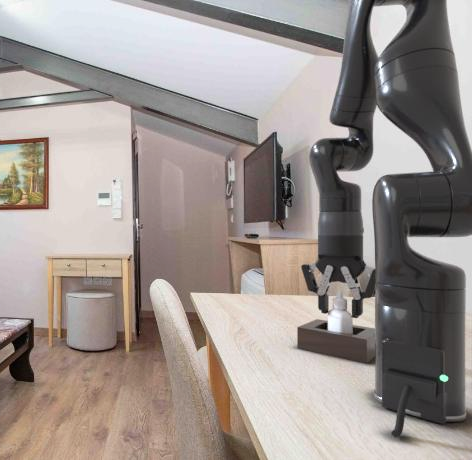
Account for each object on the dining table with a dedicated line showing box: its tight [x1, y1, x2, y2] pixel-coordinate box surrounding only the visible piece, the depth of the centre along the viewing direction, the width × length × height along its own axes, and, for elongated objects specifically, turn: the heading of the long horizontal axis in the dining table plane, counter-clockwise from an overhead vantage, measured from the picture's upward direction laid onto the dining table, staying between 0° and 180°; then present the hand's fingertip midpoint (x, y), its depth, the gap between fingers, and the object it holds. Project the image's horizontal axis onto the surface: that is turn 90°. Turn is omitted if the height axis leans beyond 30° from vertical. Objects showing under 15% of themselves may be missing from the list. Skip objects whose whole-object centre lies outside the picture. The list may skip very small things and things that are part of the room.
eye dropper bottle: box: [327, 291, 354, 335], centre depth 79 cm, size 4×6×12 cm
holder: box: [296, 318, 375, 364], centre depth 79 cm, size 12×12×4 cm
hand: (340, 314), depth 79 cm, fingers closed on eye dropper bottle, 4 cm apart
